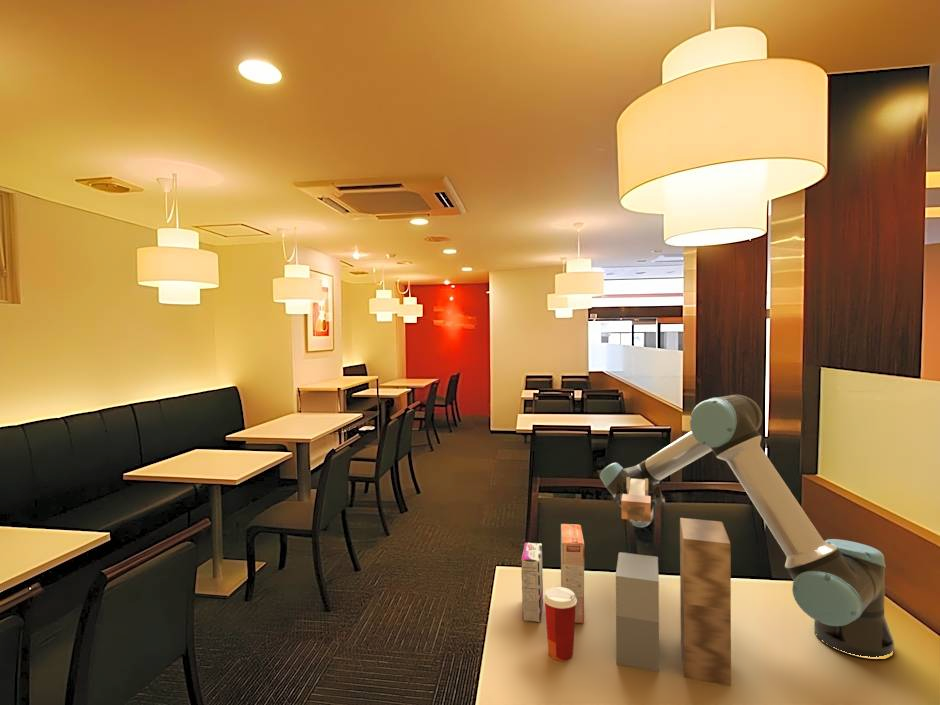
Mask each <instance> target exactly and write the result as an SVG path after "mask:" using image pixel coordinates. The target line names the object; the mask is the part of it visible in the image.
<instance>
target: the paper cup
mask: <svg viewBox="0 0 940 705" xmlns="http://www.w3.org/2000/svg"><path fill="white" fill-rule="evenodd" d="M543 603H544V608H545V610H544V611H545V622H546V623H545V624H546V626H545V627H546V634H547V635H546V637H547V649H548V655H549V656H550V658H552V660H556V661H558V660H559V662H566V661H569V660H571V659H572V657H573V655H574V644H575V643H574V642H575V624H576V623H575V606H576V603H577V599H576V597H575V594H574V592H573V591H571V590H570V589H567V588H563V587H561V586H554V587H551V588H548V589H547V590H546V591H545V592H544V593H543Z"/></svg>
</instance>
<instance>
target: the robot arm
mask: <svg viewBox="0 0 940 705" xmlns="http://www.w3.org/2000/svg"><path fill="white" fill-rule="evenodd" d="M762 421H763V414H762V410H761V408H760V406H759V405H758V404H757V402H755V401H754V400H753V399H752V398H750V397H748V396H746V395H743V394H729V395H725V396H724V395H723V396H720V397H719V396H718V397H716V396H715V397H710V398H707V399H705V400H703V401H701V402H699V403H698V404H696V405H695V407H694V408H693V410H692V411H691V414H690V418H689V428H690V431H688V432H687V433H686V434H684V435H683V436H680V437H679V438H678V439H676V440H674V441H673V442H671V443H670V444H668V445H667V446H664V447H663V448H661V449H660V450H659V451H657V452H655V453H654V454H652V455H651V456H649V457H648V458H646V459H644V460H643V461H641V462H640V463H638V464H636V465H633V466H629V467H625V468H623V466H622V465H620V463H618V462H612V463H610V464H608V465H607V466H606V467H604V468H603V469H602V470H601V472H600V473H599V478H600V480H601V482H602V483H603V485H604V487H605V488H606V489H607V490H608V492H609V493H610V494H611V495H612V498H613V499H612V502H614V503H618V505H619V507H620V508H621V500H622V494H629V490H630V482H631V479H644V480H645V496H651V522H649V521H639V520H629V519H627V520H628V521H629V523H631V524H632V525H633V526H635V527H636V528H645V527H648V526H649V525H650V524H651V523H652V521H653V520H654V516H655V514H654V506H656V505H657V506H661V507H665V506H666V498H665V497H666V496H664V495H663V493H662V488H661V487H660V486H659V487H658V486H657V487H654V486H656V485H658V484H659V483H660V482H661V481H662V480H663V479H665V478H667V477H668V476H671V475H673V474H674V473H675V472H677V471H679V470H681V469H683V468H684V467H687V465H689V464H691V463H693V462H695V461H697V460H698V459H700V458H702V457H704V456H705V455H706V454H709V453H710V452H713V454H714V456H715V457H716V458H717V459H719V460H722V461H725V462H726V463H727V465H728V466H729V468H730V469H731V470H732V472H733V474H734V475H735V477H736V478H737V480H738V482H739V484H740V485H741V486H742V488H743V490H744V492H746V494H747V496H748V498H749V499H750V501H751V502H752V504H753V505H754V507H755V509H756V510H757V512H758V513H759V515H760V517H761V518H762V520H763V521H764V522H765V525H766V526H767V527H768V529H769V531H770V532H771V534H772V535H773V537H774V539H775V540H776V542H777V543H778V545H779V546H780V548H781V550H782V551H783V553H784V554H785V557H786V558H785V559H786V560H785V564H784V568H785V569H786V570H787V572H788V574H789V575H790V577H791V579H792V580H793V581H792V588H791V589H792V590H791V591H792V595H793V598H794V601H795V602H796V604H797V605H798V606H799V608H800V609H801V610H802V611H803V612H804V614H806V615H807V616H808V617H810V618H811V619H813V620H814V621H813V623H814V624H813V625H814V626H813V627H814V628H813V630H815V632H814V634H815V633H816V634H817V636H818V637H819V638H820V639H821V640H823V641H824V642H825V643H827V644H828V645H830V646H832V647H835V648H837V649H839V650H842V651H845V652H847V653H851V654H855V655H859V656H860V655H861V656H868V657H869V656H870V657H876V656H877V657H879V656H884V655H887V654H890V653H891V652H892V651H893V649H894V650H895V643H894V639H893V635H892V633H891V630H890V628H889V625H888V622H887V619H886V617H885V594H886V593H885V588H886V587H885V585H886V584H885V583H886V582H885V579H886V578H885V577H886V576H885V575H886V574H885V573H886V567H887V565H886V562H885V556H884V553H882V552H881V551H880V550H878V549H877V548H875V547H873V546H870V545H867V544H864V543H860V542H856V541H852V540H851V541H850V540H846V539H838V538H831V539H830V538H828V539H825V540H824V539H823V537H822V536H821V534H820V533H819V531H818V530H817V529H816V527H815V525H814V524H813V523H812V522H811V520H810V518H809V516H808V515H807V514H806V512H805V511H804V509H803V508H802V506H801V505H800V503H799V502H798V500H797V499H796V497H795V496H794V494H793V493H792V491H791V489H790V488H789V487H788V485H787V484H786V482H785V481H784V480H783V478H782V477H781V475H780V473H779V472H778V471H777V469H776V468H775V466H774V464H773V463H772V462H771V460H770V458H769V457H768V456H767V454H766V453H765V451H764V450H763V448H762V447H761V442H762V435H761V433H760V432H759V430H760V427H761V425H762ZM654 496H655V497H654ZM816 634H815V635H816ZM817 636H816V637H817ZM818 637H817V638H818ZM819 638H818V639H819ZM820 639H819V640H820ZM821 640H820V641H821ZM824 642H823V643H824ZM825 643H824V644H825ZM828 645H827V646H828ZM830 646H829V647H830Z"/></svg>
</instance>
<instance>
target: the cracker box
mask: <svg viewBox="0 0 940 705" xmlns="http://www.w3.org/2000/svg"><path fill="white" fill-rule="evenodd" d="M560 587H563V588H567V589H570V590H571V591H573V592H574V594H575V597H576V599H577V603H576V606H575V624H584V623H585V541H584V536H583V529H582V526H581V524H577V523H576V524H573V523H572V524H571V523H570V524H569V523H560Z"/></svg>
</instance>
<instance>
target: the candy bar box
mask: <svg viewBox="0 0 940 705" xmlns="http://www.w3.org/2000/svg"><path fill="white" fill-rule="evenodd" d="M542 548H543V544H542V543H541V542H540V543H538V542H524V545H523V550H522V551H523V552H522V555H521V560H520V561H521V563H520V564H521V566H520V567H521V591H522V594H521V595H522V596H521V597H522V599H521V600H522V621H523V622H530V621H533V622H532V623H541V622H542V614H543V605H544V600H543V596H544V584H543V583H544V582H543V579H544V578H543V575H544V574H543V549H542Z"/></svg>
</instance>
